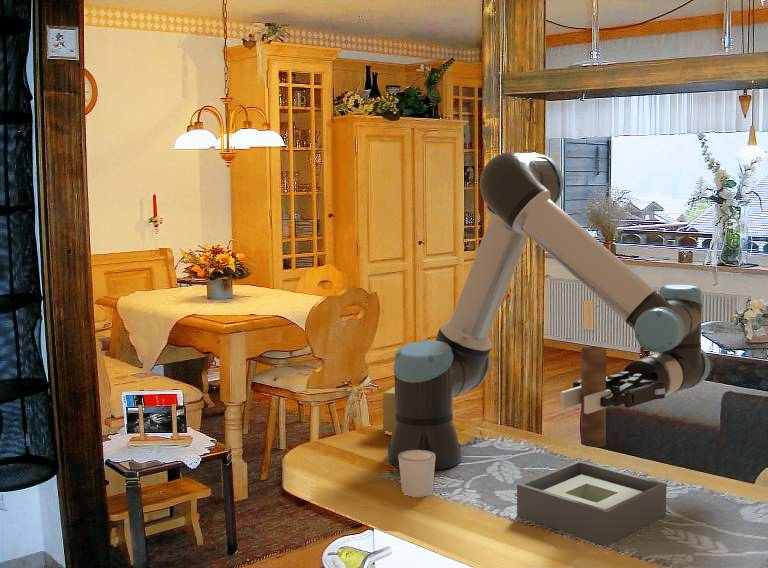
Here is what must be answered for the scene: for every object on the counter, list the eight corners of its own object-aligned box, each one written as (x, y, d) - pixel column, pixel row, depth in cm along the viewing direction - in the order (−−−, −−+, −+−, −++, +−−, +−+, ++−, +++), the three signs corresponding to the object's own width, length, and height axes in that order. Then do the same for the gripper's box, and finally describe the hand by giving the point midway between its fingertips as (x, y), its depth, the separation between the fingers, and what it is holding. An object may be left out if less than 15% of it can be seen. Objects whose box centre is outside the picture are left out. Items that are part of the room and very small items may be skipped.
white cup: (433, 499, 160) (432, 461, 159) (395, 497, 161) (394, 459, 160) (438, 486, 166) (438, 449, 165) (402, 484, 168) (401, 448, 167)
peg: (576, 443, 149) (576, 349, 147) (590, 438, 152) (590, 345, 150) (596, 448, 146) (597, 352, 144) (610, 443, 149) (611, 348, 147)
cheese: (441, 427, 204) (441, 384, 203) (424, 440, 195) (423, 396, 193) (399, 423, 208) (399, 381, 207) (380, 435, 199) (379, 391, 198)
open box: (516, 515, 151) (516, 484, 151) (578, 489, 163) (578, 460, 162) (606, 546, 138) (606, 512, 138) (665, 515, 150) (666, 483, 150)
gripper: (695, 406, 154) (619, 435, 139) (610, 390, 167) (532, 415, 151) (696, 364, 153) (620, 388, 138) (610, 351, 166) (531, 372, 150)
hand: (574, 402), depth 145 cm, fingers closed on peg, 4 cm apart
